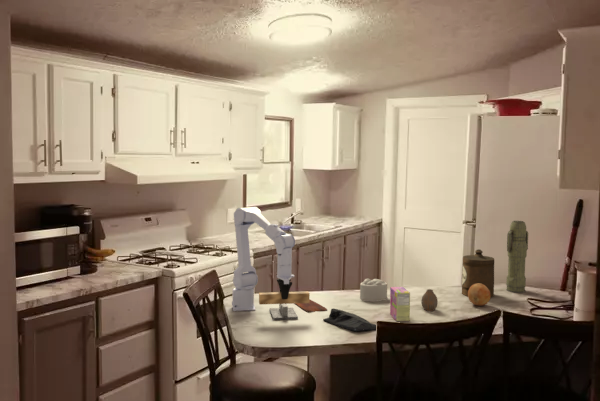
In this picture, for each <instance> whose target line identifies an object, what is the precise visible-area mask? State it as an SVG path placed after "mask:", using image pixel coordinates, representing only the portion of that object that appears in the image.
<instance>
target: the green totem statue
mask: <svg viewBox="0 0 600 401" xmlns="http://www.w3.org/2000/svg"><path fill="white" fill-rule="evenodd" d="M510 223H511V224H510V226H509V230H508V231H507V235H506V236H507V238H506V239H507V241H506V251H507V256H508V260H507V262H508V264H507V275H506V282H505V285H506V291H508V292H510V293H517V294H518V293H519V294H520V293H525V292H526V279H527V278H526V275H525V274H526V258H527V253H528V252H527V251H528V249H529V248H528V247H529V232H528V230H527V225H526V222H525V221H522V220H513V221H511V222H510Z"/></svg>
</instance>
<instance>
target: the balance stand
mask: <svg viewBox="0 0 600 401" xmlns="http://www.w3.org/2000/svg"><path fill="white" fill-rule="evenodd" d="M278 305H279V307H274V308H273V307H272V308H270V307H269V313H270V315H271V318H272V320H273V321H287V320H289V321H290V320H298V319H299V317H298V315H297V312H296V310H295V309H294V308H293V307H288V305H287V304H278Z"/></svg>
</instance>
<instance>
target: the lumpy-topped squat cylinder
mask: <svg viewBox="0 0 600 401" xmlns="http://www.w3.org/2000/svg"><path fill="white" fill-rule="evenodd" d="M359 285H360V286H359V287H360V288H359V289H360V290H359V299H360V301H363V300H364V301H365V302H379V301H384V299H385V300H387V299H388V283H387V282H386V281H384V280H382V279H378V278H373V279H370V278H364V280H363V281H361V282H360V284H359Z"/></svg>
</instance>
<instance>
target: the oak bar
mask: <svg viewBox="0 0 600 401" xmlns="http://www.w3.org/2000/svg"><path fill="white" fill-rule="evenodd" d="M310 294H311V293H310V292H309V290H308V291H289V294H288V299H282V297H281V292H280V291H275V292H274V291H272V292H258V303H259V305H279V304H290V305H291V304H295V303H309V299H310Z"/></svg>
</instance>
